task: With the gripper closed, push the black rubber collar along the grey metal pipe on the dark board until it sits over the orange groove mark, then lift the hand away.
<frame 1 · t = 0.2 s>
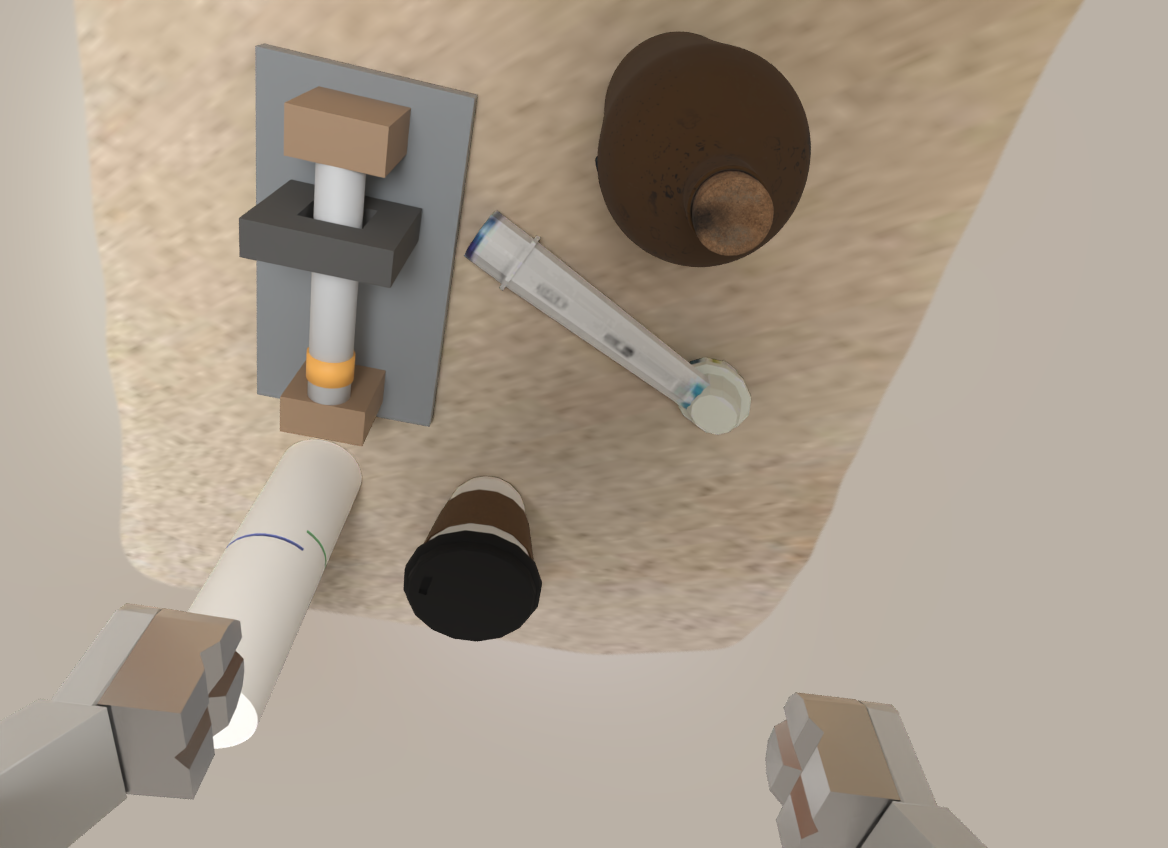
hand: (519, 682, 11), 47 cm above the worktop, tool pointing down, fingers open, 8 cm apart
cylindrical container: (322, 471, 67), on the worktop
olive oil: (671, 108, 51), on the worktop
electric toothbrush: (616, 316, 60), on the worktop
pipe stand: (359, 255, 57), on the worktop
coffee cup: (488, 501, 69), on the worktop
collar: (337, 230, 49), point 7 cm above the worktop, slide at 0.0 cm
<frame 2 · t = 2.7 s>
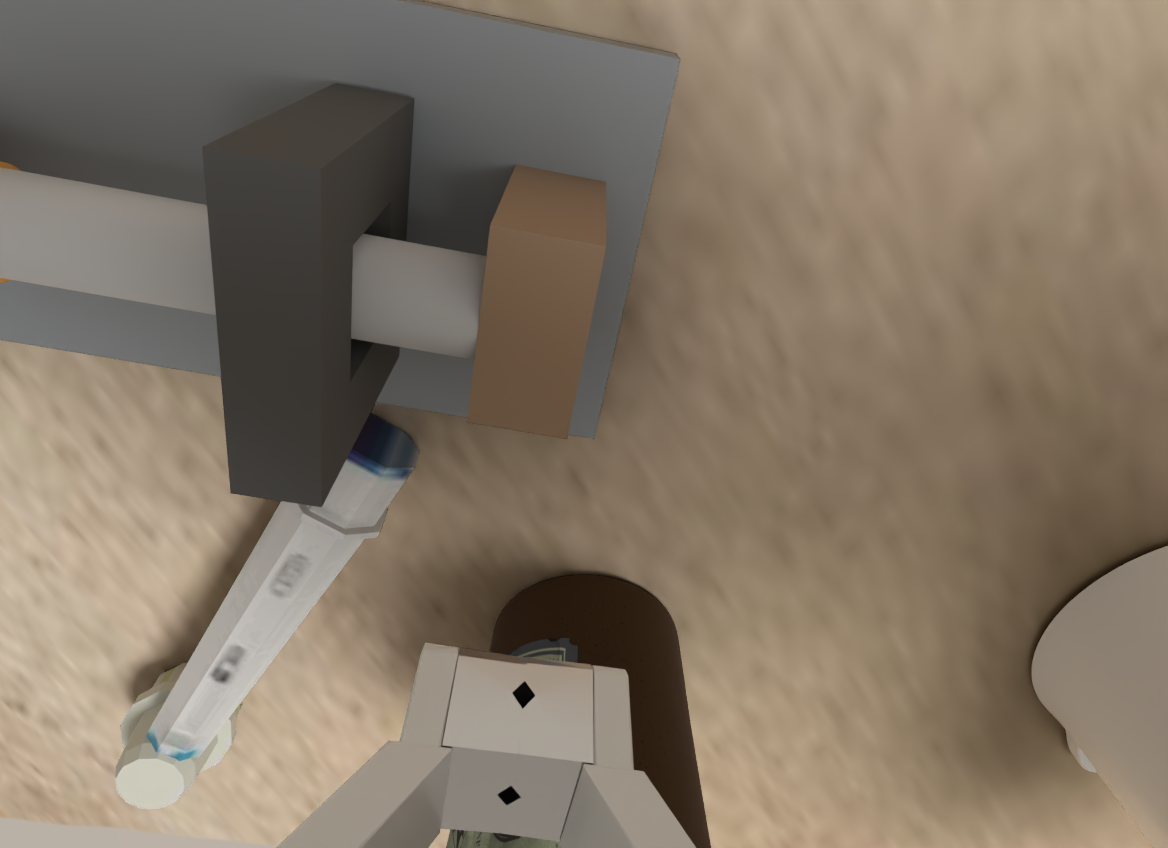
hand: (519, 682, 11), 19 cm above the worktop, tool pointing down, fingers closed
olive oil: (585, 635, 39), on the worktop
electric toothbrush: (272, 583, 38), on the worktop
pipe stand: (272, 194, 27), on the worktop
collar: (329, 281, 22), point 6 cm above the worktop, slide at 0.0 cm
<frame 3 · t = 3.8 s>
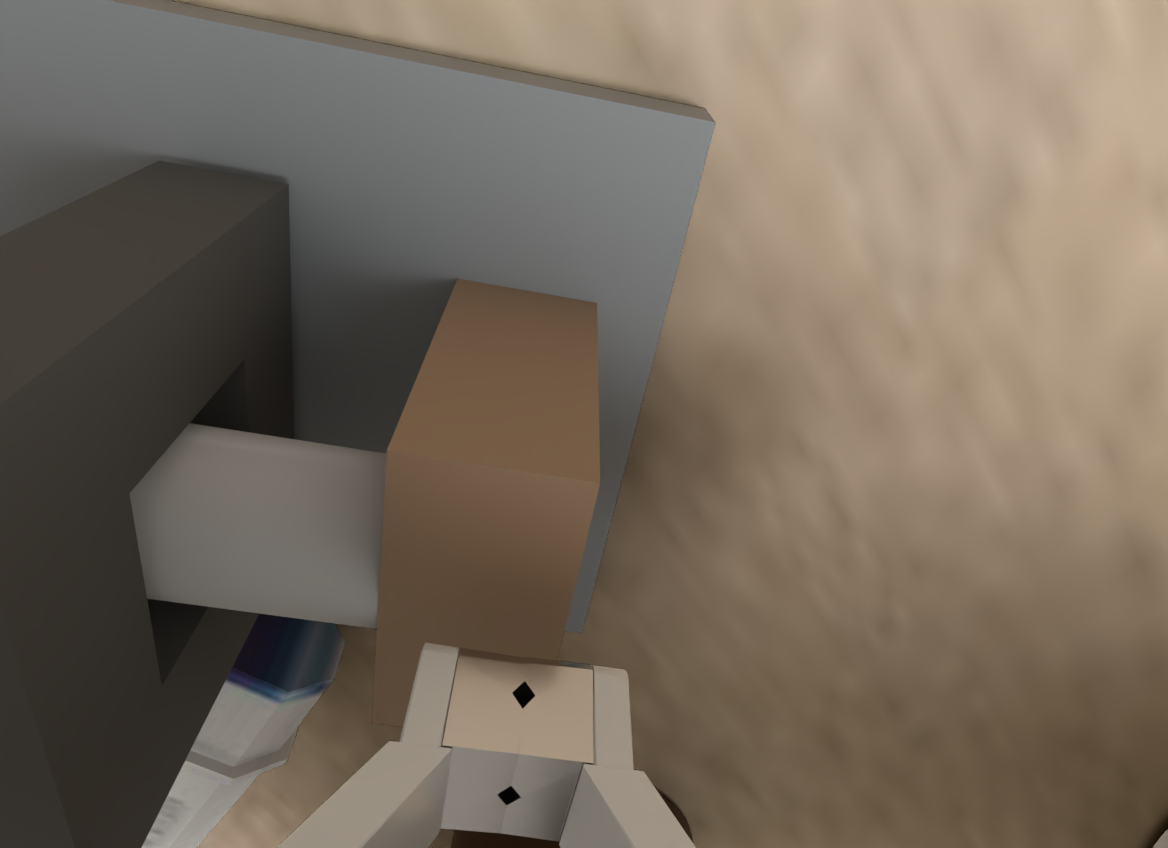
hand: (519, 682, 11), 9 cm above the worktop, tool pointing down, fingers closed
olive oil: (572, 832, 30), on the worktop
electric toothbrush: (161, 775, 29), on the worktop
pipe stand: (99, 310, 18), on the worktop
collar: (132, 503, 13), point 7 cm above the worktop, slide at 0.0 cm
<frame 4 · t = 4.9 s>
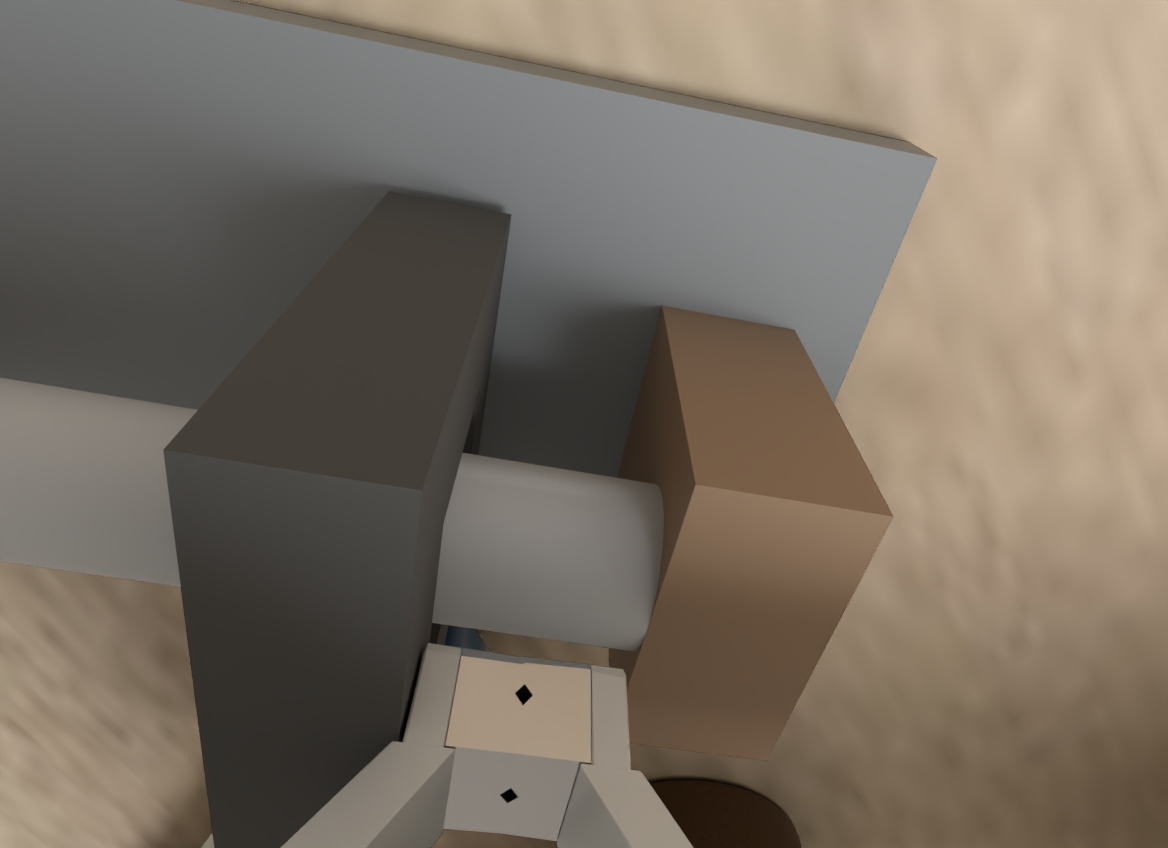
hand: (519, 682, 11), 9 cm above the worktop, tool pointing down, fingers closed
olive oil: (678, 839, 30), on the worktop
electric toothbrush: (279, 779, 29), on the worktop
pipe stand: (289, 331, 18), on the worktop
collar: (384, 526, 13), point 7 cm above the worktop, slide at 0.2 cm, touching gripper
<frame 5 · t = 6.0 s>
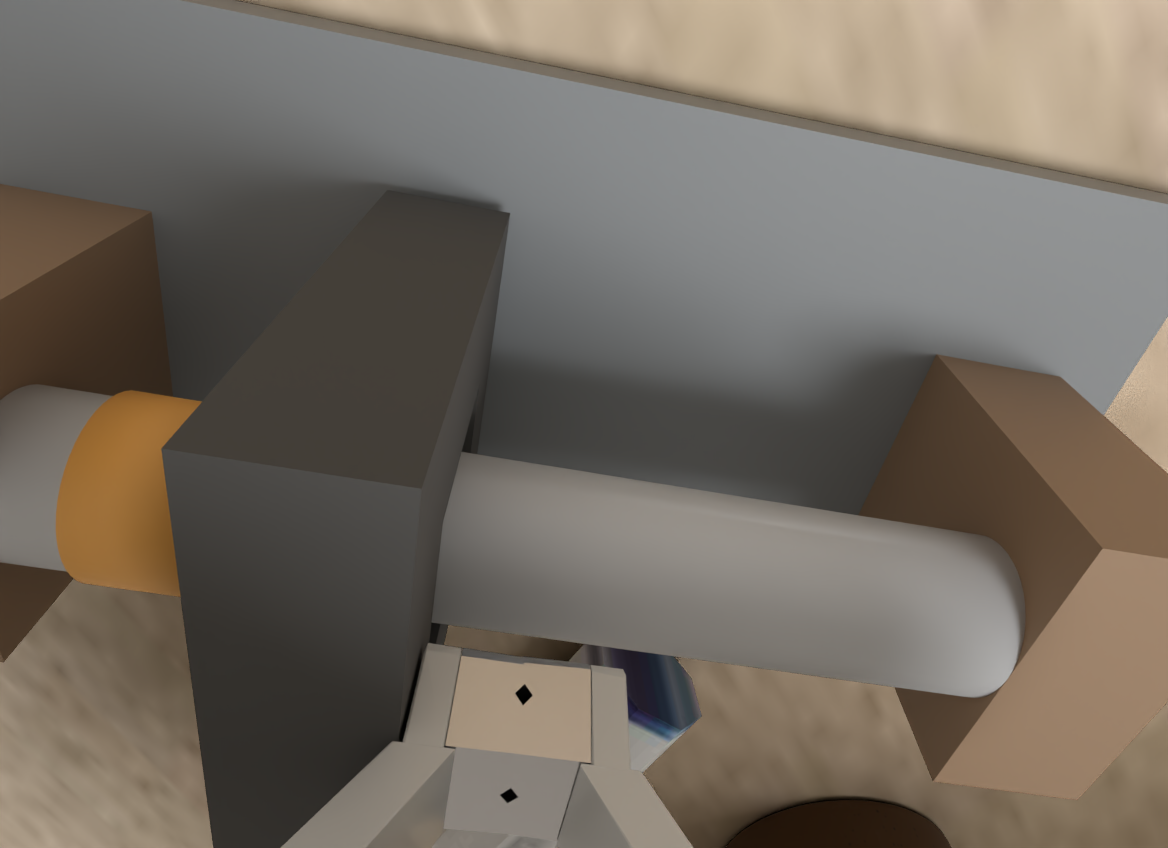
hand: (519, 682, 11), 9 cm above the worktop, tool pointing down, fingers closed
electric toothbrush: (443, 798, 30), on the worktop
pipe stand: (544, 374, 19), on the worktop
collar: (383, 526, 13), point 6 cm above the worktop, slide at 6.5 cm, touching gripper
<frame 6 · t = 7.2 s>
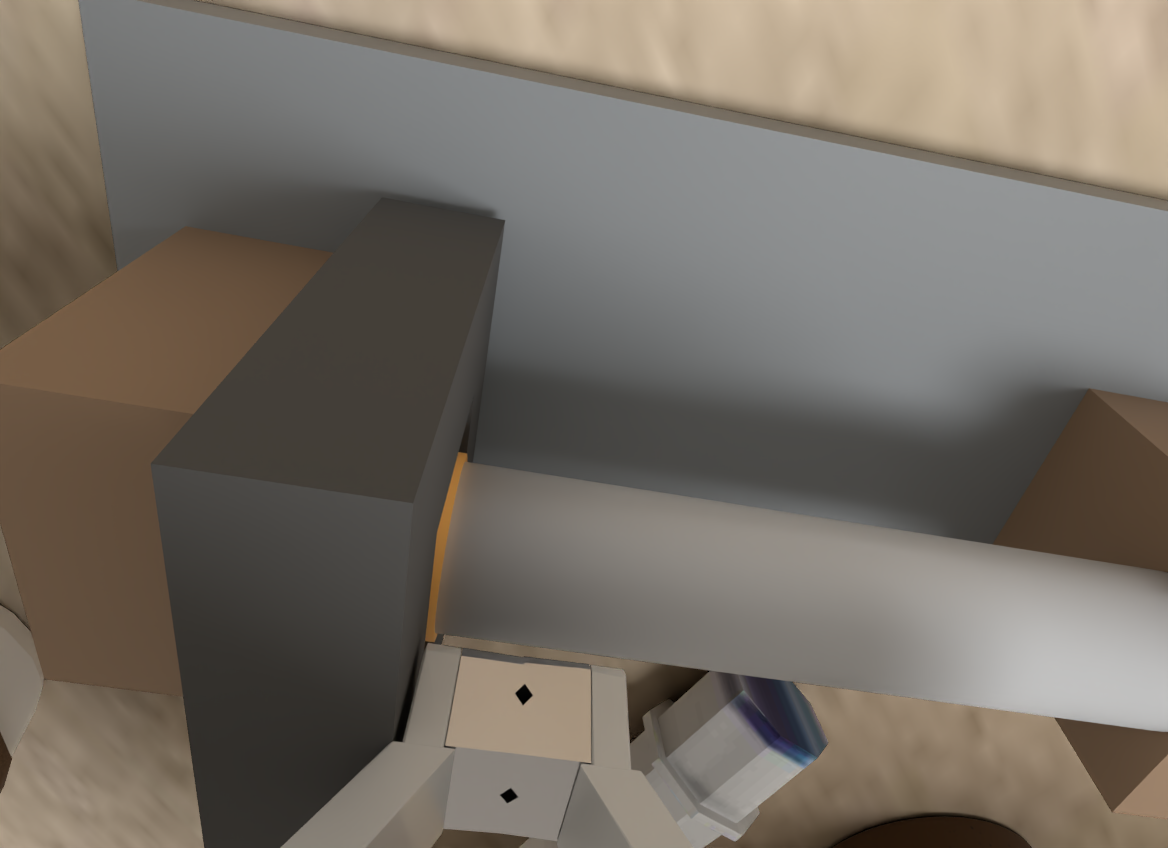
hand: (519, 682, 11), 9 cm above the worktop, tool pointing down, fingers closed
electric toothbrush: (532, 812, 30), on the worktop
pipe stand: (686, 405, 19), on the worktop
collar: (378, 535, 13), point 6 cm above the worktop, slide at 10.3 cm, touching gripper
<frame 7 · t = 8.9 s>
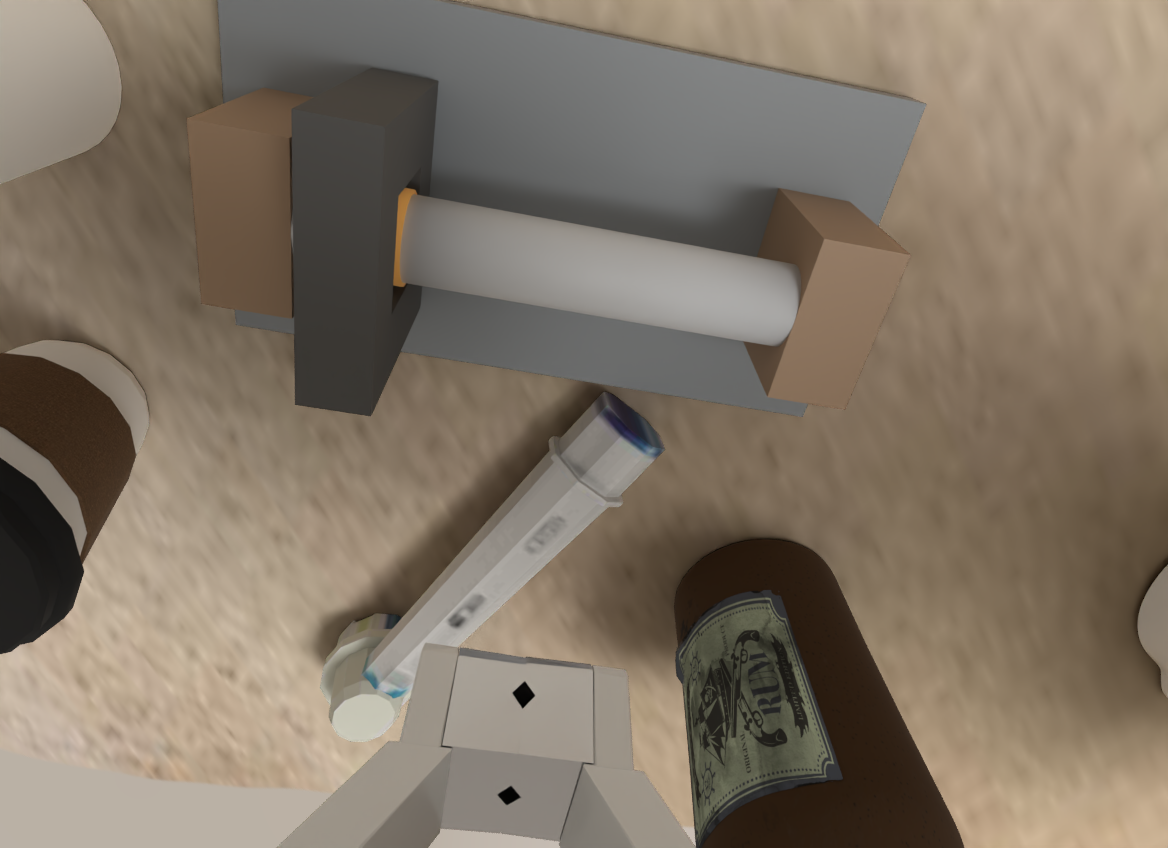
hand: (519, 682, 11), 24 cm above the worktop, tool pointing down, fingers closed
cylindrical container: (26, 59, 29), on the worktop
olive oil: (753, 595, 44), on the worktop
electric toothbrush: (479, 544, 42), on the worktop
pipe stand: (556, 212, 32), on the worktop
coffee cup: (86, 394, 37), on the worktop
collar: (371, 232, 26), point 6 cm above the worktop, slide at 10.3 cm
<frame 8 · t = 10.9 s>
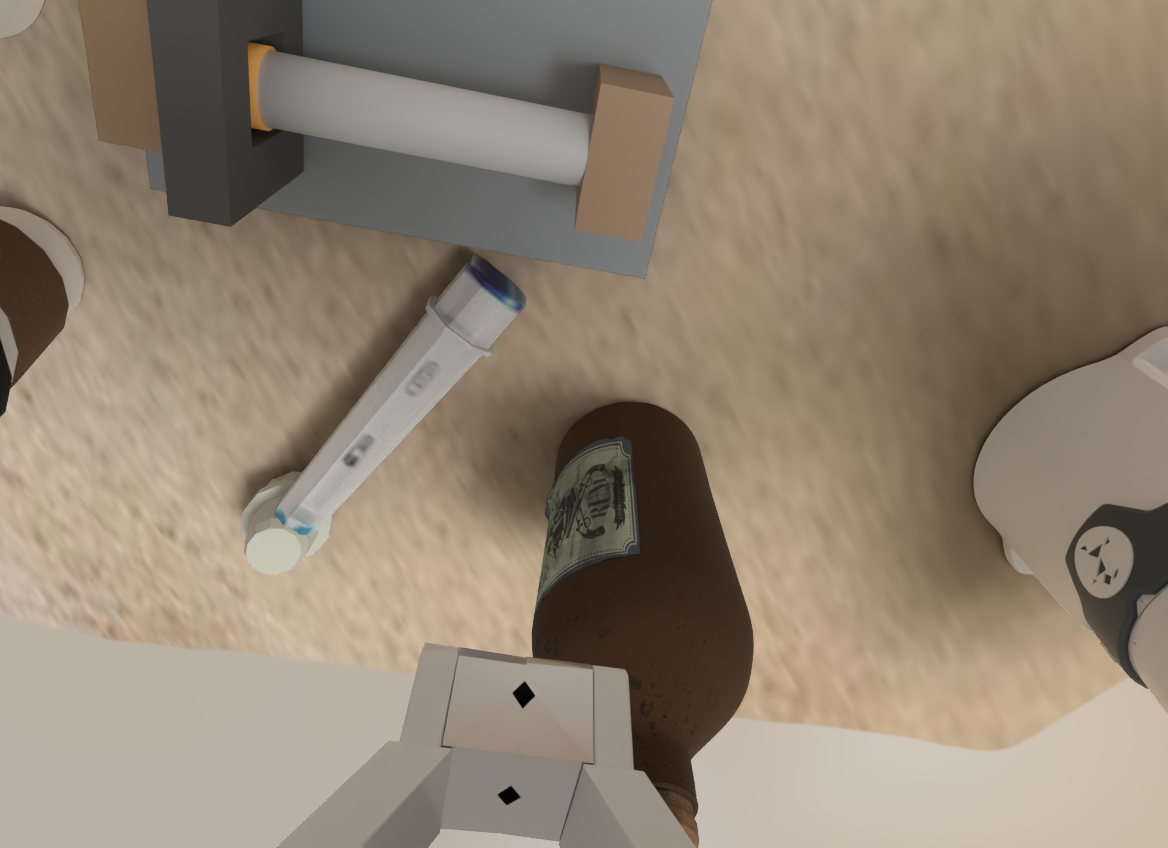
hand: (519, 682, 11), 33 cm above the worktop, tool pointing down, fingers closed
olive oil: (628, 459, 49), on the worktop
electric toothbrush: (380, 406, 48), on the worktop
pipe stand: (419, 89, 38), on the worktop
coffee cup: (30, 259, 43), on the worktop
collar: (238, 83, 31), point 7 cm above the worktop, slide at 10.3 cm
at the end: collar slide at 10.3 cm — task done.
